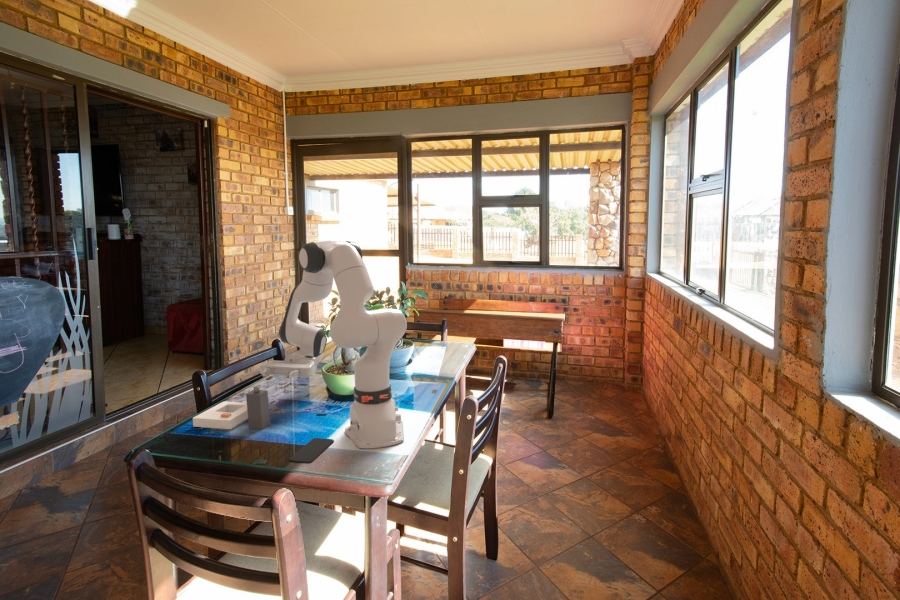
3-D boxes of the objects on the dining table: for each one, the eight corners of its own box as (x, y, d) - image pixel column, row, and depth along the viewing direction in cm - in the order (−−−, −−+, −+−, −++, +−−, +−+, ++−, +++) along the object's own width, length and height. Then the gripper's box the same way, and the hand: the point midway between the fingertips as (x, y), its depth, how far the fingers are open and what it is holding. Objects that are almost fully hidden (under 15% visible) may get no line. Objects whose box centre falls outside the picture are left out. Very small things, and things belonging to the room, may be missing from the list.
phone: (287, 459, 142) (313, 437, 156) (287, 462, 142) (313, 440, 156) (311, 462, 140) (335, 439, 154) (311, 464, 140) (335, 441, 154)
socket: (224, 410, 182) (223, 399, 182) (258, 412, 179) (258, 401, 179) (193, 427, 167) (192, 415, 166) (230, 430, 164) (229, 418, 163)
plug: (256, 423, 169) (253, 384, 167) (270, 424, 168) (266, 385, 166) (249, 428, 165) (245, 388, 163) (262, 429, 164) (259, 389, 162)
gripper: (270, 354, 192) (249, 365, 178) (319, 357, 187) (301, 368, 174) (272, 370, 193) (250, 382, 179) (320, 373, 188) (302, 385, 175)
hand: (276, 375), depth 177 cm, fingers open, 8 cm apart
